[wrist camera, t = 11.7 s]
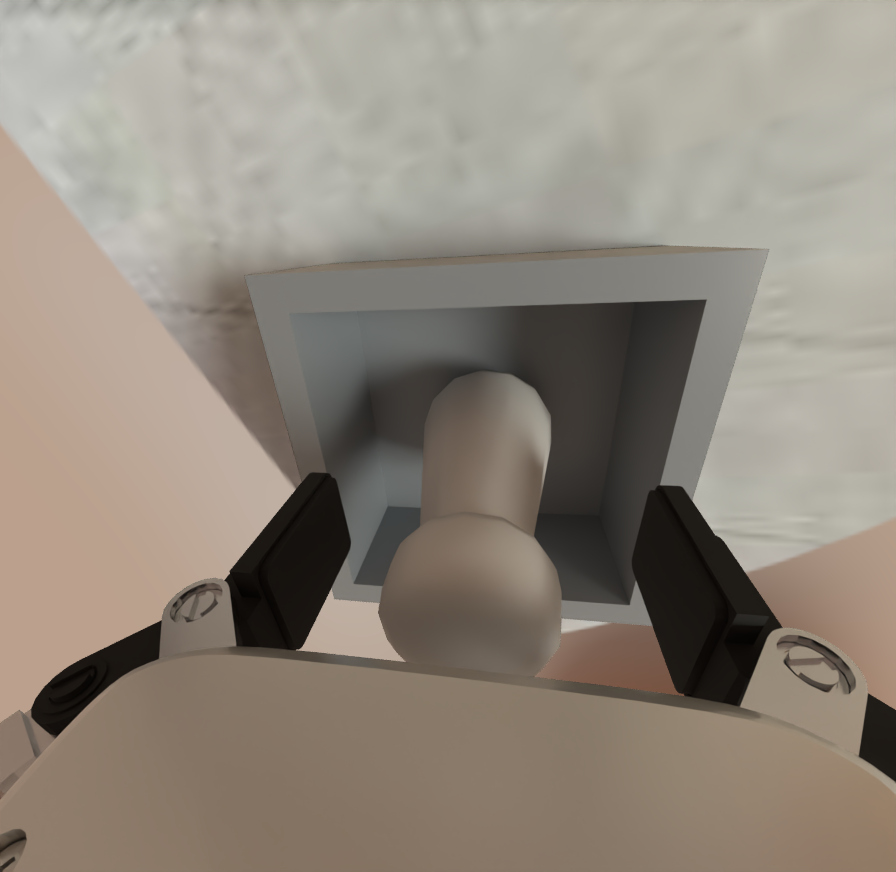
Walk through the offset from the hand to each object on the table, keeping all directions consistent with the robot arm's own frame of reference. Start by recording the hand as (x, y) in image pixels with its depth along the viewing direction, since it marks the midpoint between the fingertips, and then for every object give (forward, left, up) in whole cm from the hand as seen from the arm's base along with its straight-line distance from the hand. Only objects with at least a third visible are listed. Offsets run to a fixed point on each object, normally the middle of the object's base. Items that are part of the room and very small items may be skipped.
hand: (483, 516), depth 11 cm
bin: (+1, 0, -10) cm, 10 cm away
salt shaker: (0, 0, -9) cm, 9 cm away
